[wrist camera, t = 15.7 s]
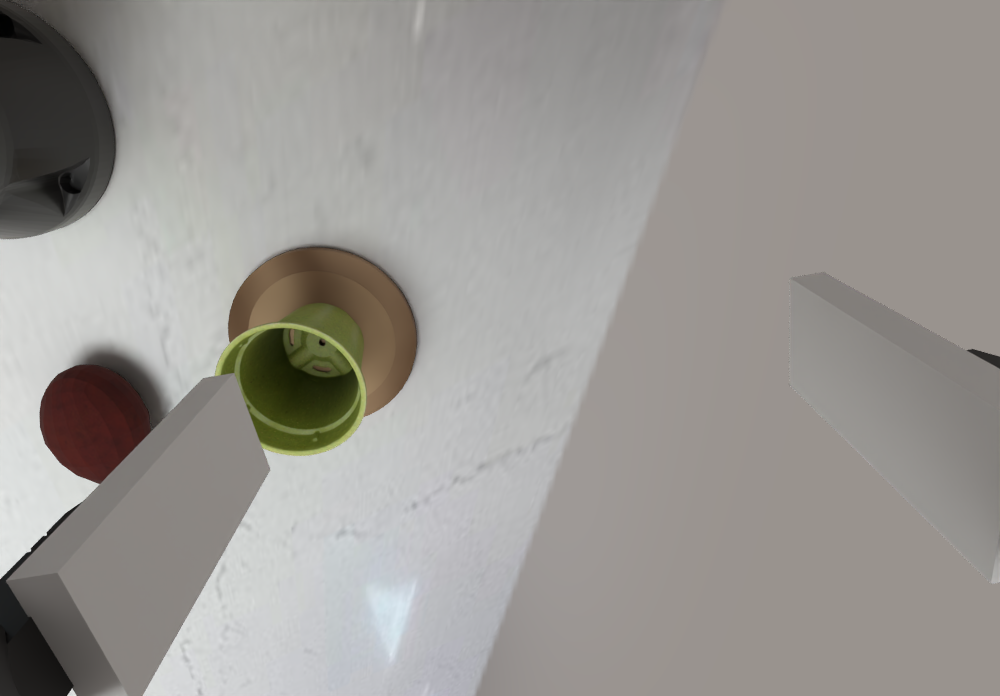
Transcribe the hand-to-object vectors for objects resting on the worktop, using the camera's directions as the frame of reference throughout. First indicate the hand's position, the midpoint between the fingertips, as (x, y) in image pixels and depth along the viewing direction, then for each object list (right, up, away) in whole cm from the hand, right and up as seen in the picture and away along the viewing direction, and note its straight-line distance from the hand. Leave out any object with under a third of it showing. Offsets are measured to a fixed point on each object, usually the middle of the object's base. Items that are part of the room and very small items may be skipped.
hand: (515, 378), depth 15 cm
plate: (-14, +2, +33) cm, 36 cm away
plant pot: (-14, +1, +33) cm, 35 cm away
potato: (-31, -4, +36) cm, 47 cm away
